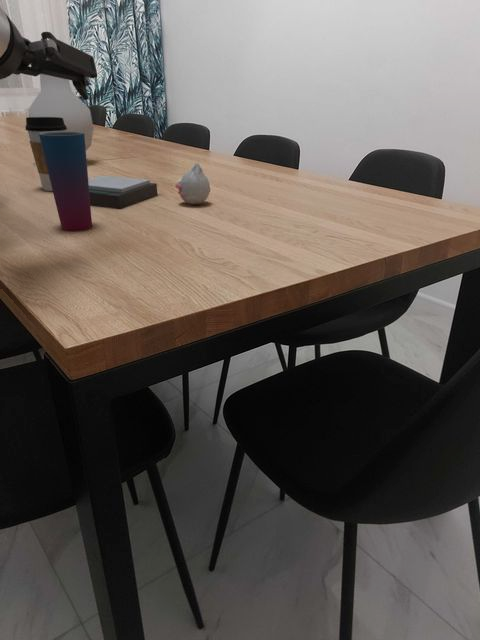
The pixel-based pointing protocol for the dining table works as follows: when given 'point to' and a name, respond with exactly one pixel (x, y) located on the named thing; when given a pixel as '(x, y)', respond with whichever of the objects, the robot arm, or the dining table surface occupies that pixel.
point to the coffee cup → (34, 128)
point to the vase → (62, 106)
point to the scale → (119, 191)
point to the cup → (68, 177)
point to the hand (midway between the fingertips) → (38, 97)
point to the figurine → (194, 186)
